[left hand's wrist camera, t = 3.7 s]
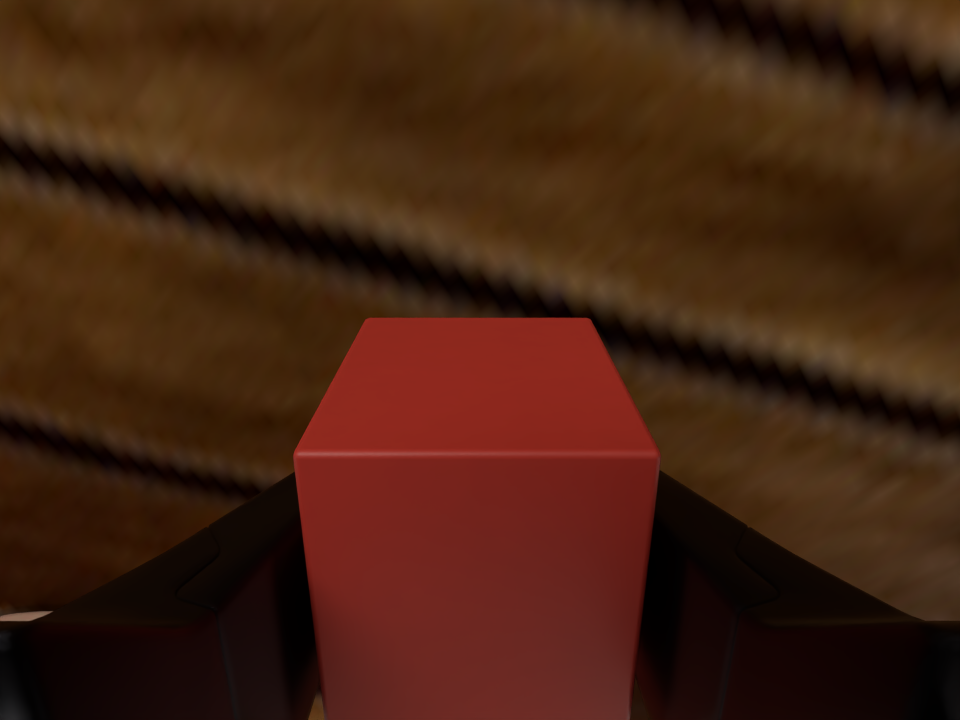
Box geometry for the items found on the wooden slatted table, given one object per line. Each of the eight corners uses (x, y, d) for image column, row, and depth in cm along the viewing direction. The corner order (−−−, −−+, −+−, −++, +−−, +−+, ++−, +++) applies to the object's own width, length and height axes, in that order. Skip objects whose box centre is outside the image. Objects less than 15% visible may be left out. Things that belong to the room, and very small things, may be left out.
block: (591, 316, 12) (663, 452, 7) (576, 537, 13) (627, 761, 9) (364, 316, 12) (289, 452, 7) (379, 536, 13) (327, 761, 9)
